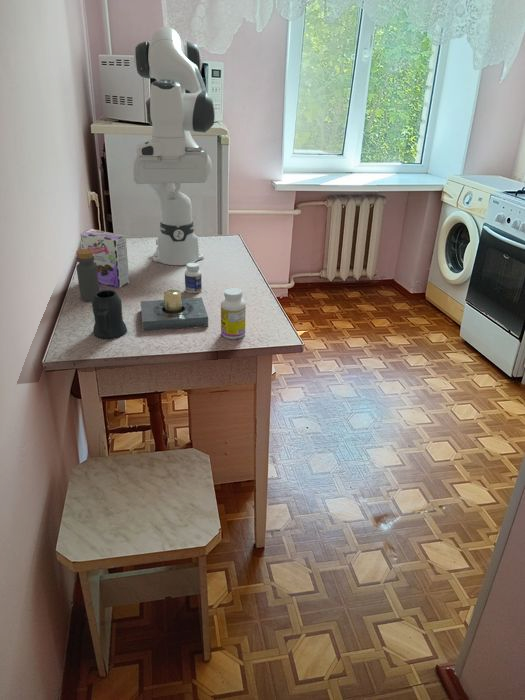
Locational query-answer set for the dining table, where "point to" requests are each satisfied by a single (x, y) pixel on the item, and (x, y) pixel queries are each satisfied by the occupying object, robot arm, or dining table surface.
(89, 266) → the bottle
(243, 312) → the supplement bottle
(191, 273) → the pill bottle
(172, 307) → the gold rounded cylinder
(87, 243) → the candy box
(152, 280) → the dining table surface
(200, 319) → the jig
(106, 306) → the dark grey flared cylinder
